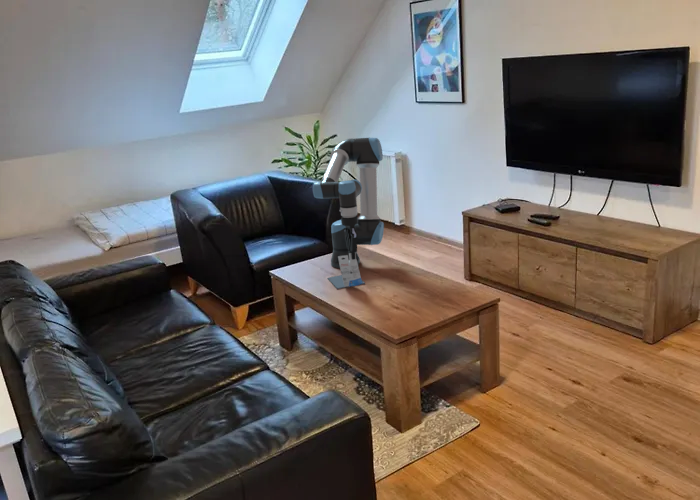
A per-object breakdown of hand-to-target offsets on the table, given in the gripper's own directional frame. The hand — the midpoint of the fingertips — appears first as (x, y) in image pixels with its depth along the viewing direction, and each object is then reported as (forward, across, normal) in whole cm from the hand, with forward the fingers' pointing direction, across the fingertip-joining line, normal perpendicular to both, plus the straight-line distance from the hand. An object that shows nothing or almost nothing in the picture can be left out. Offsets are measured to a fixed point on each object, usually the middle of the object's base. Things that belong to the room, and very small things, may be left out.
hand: (353, 265), depth 291 cm
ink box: (+11, -3, 0) cm, 11 cm away
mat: (+12, -14, 0) cm, 19 cm away
